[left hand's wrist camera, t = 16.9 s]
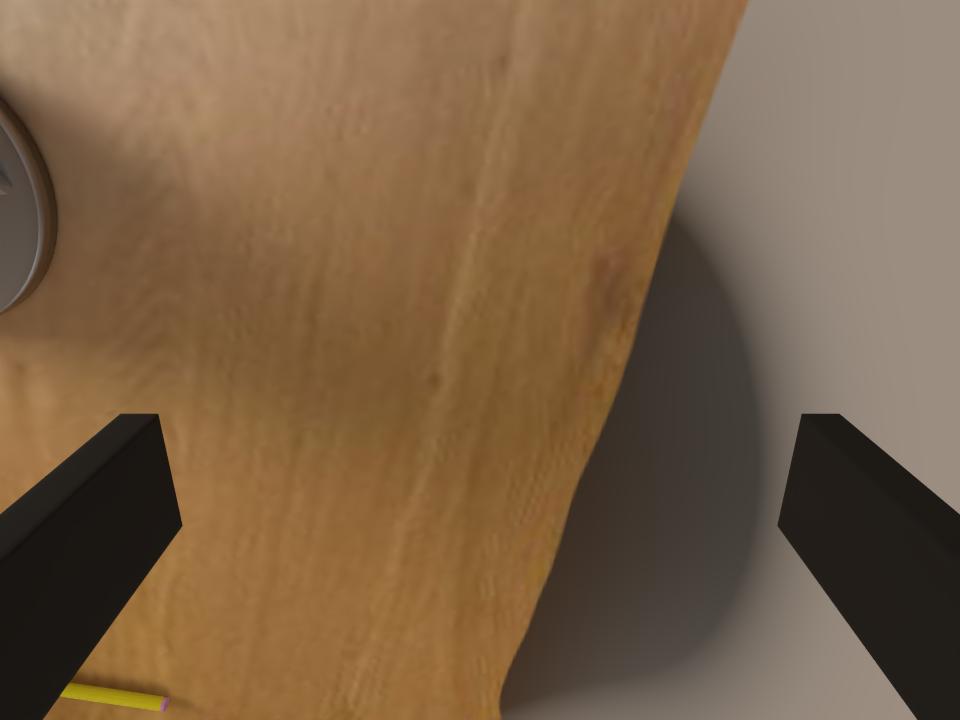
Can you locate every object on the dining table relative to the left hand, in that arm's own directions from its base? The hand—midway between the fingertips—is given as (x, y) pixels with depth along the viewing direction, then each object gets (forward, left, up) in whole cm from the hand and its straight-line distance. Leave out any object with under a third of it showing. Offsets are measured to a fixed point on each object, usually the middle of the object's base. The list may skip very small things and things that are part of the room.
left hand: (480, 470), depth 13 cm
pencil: (-44, +16, -24) cm, 52 cm away
